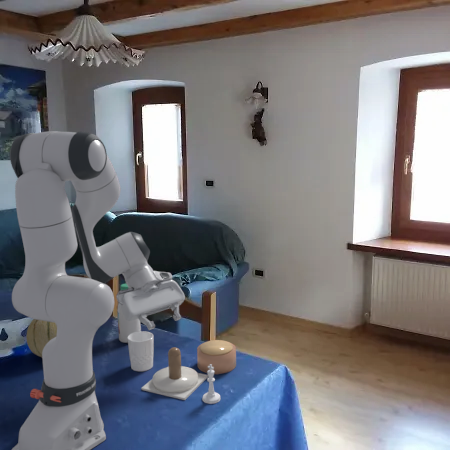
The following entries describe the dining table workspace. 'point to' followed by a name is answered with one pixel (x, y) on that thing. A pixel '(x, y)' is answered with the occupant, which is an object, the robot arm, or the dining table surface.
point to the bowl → (216, 356)
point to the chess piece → (211, 389)
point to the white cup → (141, 350)
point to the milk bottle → (126, 323)
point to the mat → (180, 395)
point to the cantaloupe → (40, 335)
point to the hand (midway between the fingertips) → (165, 323)
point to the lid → (175, 375)
